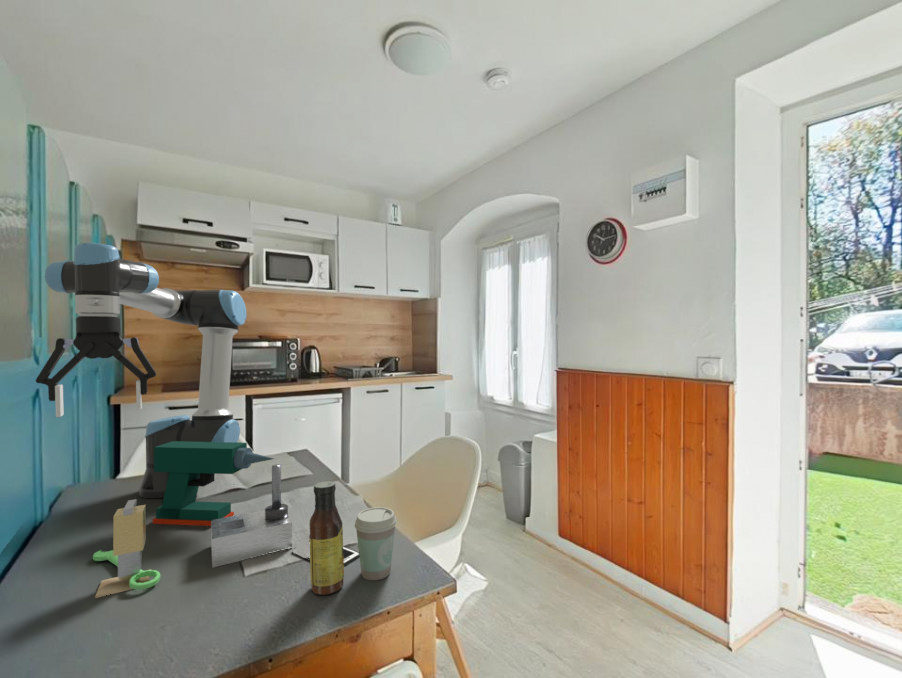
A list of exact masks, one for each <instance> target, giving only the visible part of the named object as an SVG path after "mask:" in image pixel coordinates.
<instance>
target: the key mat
mask: <svg viewBox="0 0 902 678" xmlns="http://www.w3.org/2000/svg"><path fill="white" fill-rule="evenodd" d="M147 570H148V569H147ZM147 570H145V571H147ZM149 570H152V569H151V568H150V569H149ZM131 577H132V576H131V575H128V576H124V577H119V578H118V576H115V577H110V578H107V579H102V580H101V582H100V583H99V585H98V588H97V591H96V593H95V596H94V598H95V599H99V598H102V597H105V596H106V595H107V596H110V594H111V595H114V594H118V593H122V592H126V591H127V592H128V591H131V590H133V589H132V588H130V586H129V581H130V579H131ZM150 578H151V576H146V577H141V578H140V579H138V580H135V582H136V583H144V582H149V581H150Z"/></svg>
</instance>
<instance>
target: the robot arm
mask: <svg viewBox="0 0 902 678" xmlns="http://www.w3.org/2000/svg"><path fill="white" fill-rule="evenodd" d="M44 271H45V272H44V280H45V282H46V284H47V286H48V287H49V288H50V289H51V290H52V291H54V292H56V293H65V294H75V295H74V298H75V299H74V300H75V301H74V302H75V304H74V305H75V306H74V307H75V314H77V315H78V316H76V318H75V333H76V334H75V338H74V339H67V338H64V337H62V338H61V337H60V338H57V339H56V342H55V347H54V350H53V352H52V353H51V355H50V356H49V357H48V360H47V361H46V363H45V364H44V366H43V368H42V369H41V371H40V372H39V374H38V375H37V377H36V378H35V382H36V383H37V384H41V385H46V387H48V400H49V402H55V403H54V404H55V418H60V417H63V416H64V414H65V412H64V411H65V410H64V409H65V408H64V407H65V406H64V385H63V384H59V383H60V382H61V380H63V379H65V377H66V376H67V375H68V374H69V373H70V372H71V371H72V370H73V369H74V368H75V367H76V366H77V365H79V363H80V362H81V361H83V360H84V359H85V358H87V359H91V360H92V359H93V360H94V359H98V358H101V359H109V358H112V357H114V358H115V359H116V360H117V361H119V363H121V364H122V365H123V366H124V367H125V368H127V369H128V370H129V371H130V372H131V373H132V374H134V375H135V376H136V378H138V380H136V381H135V392H136V393H135V394H136V396H135V397H136V398H135V399H136V400H135V401H136V411H141V410H142V408H143V401H142V395H147V393H148V380H149V379H151V378H152V379H153V378H154V377H156V376H157V372H156V370H155V368H154V366H152V364H151V362H150V361H149V359H148V357H147V356H146V354H145V353H144V351H143V350H142V349H141V347H140V343H139V338H138V337H136V336H135V337H130V338H129V337H128V338H123V337H122V333H121V332H122V331H121V318H120V317H119V316H117V315H120V314H121V305H123V306H127V307H131V308H135V309H139V310H142V311H145V312H150V313H151V314H152V315H153V316H155V317H157V318H159V319H164V320H167V321H170V322H171V321H172V322H174V323H179V324H183V325H190V326H198V327H197V330H198V331H199V332H200V333H201V335H202V348H201V358H200V359H201V361H200V373H199V388H198V390H199V392H198V403H197V404H198V405H197V409H196V411H195V412H193V413H192V415H191V417H190V416H189V414H182V415H181V414H180V415H174V416H168V417H163V418H159V419H155V420H152V421H149V422H148V423H147V425H146V427H145V436H144V438H145V464H146V465H145V472H144V474H143V477H142V480H141V482H140V485H139V489H138V491H139V492H138V493H139V495H138V496H139V497H140V498H144V499H162V498H164V494H165V489H166V485H167V481H168V476H169V472H154V447H156V446H159V445H162V444H166V443H169V442H172V441H186V442H237V443H239V439H240V434H241V427H240V422H238V420H236V419H234V413H233V412H232V411H231V410H230V408H229V403H230V402H229V401H230V387H231V386H230V384H231V372H232V371H231V370H232V369H231V368H232V356H233V355H232V353H233V337H234V336H235V335H237V333H238V332H239V326H240V327H241V326H242V325H244V324H245V323H246V320H247V307H246V303H245V300H244V299H243V297H242V296H241V295H240V293H238V292H237V291H235V290H229V289H227V290H225V289H213V290H212V289H208V290H207V289H206V290H205V289H202V290H201V289H200V290H199V289H198V290H196V289H193V290H192V289H189V290H187V289H186V290H184V289H183V290H177V289H172V288H168V287H167V288H166V287H164V288H160V287H158V286H159V283H160V277H159V276H160V275H159V272H158V271H157V270H156V269H155V268H154V267H153V266H152V265H150V264H146V263H144V262H143V261H134V260H128V259H124V258H121V255H120V253H119V249H118V248H117V247H116V246H114V245H109V244H105V243H97V242H96V243H95V242H82V243H81V242H80V243H78V244H76V245H75V247H74V256H73V260H69V259H68V260H62V261H55V262H54V261H53V262H51V263H49V264H48V266H46V268H45V270H44ZM124 344H125V345H126V346H127V347H128V348H132V351H133V353H134V354H135V356H136V357H137V359H138V360H139V362H140V363H141V365H142V366H143V368H144V369H145V371H146V373H145V372H143V371H142V370H141V369H140V368H139V367H138V366H137V365H135V364H134V363H133V362H132V361H130V359H129V358H128V357H127V356H125V354H123V353H122V352H121V351H120V350H119V349H121V347H122V346H124ZM72 345H73V346H74V347H75V348H76V349H77V350H78V352H77V353H76V354H75V355H74V356H73V357H72V358H71V359H70V361H68V362H67V363H66V364H65V365H64V366H63V367H62V368H60V370H58V371H57V373H55V374H54V376H52V377H51V378H50V376H51V374H52V373H53V371H54V369H55V367H56V366H57V364H59V363H58V362H59V361H60V359H62V358H61V357H62V356H64V355H63V354H64V353H65V350H68V349H69V348H70V347H71V346H72Z"/></svg>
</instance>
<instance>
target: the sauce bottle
mask: <svg viewBox="0 0 902 678" xmlns="http://www.w3.org/2000/svg"><path fill="white" fill-rule="evenodd" d="M336 490H337V489H336V483H335V482H334V481H330V480H329V481H320V482H317V483H316V484H314V485H313V493H314V511H313V513H312V515H311V517H310V519H309V535H308V536H309V537H308V538H309V540H308V541H309V544H310V561H309V569H310V570H309V571H310V573H309V574H310V575H309V576H310V584H311V590H312V592H313V593H314V594H316V595H320V596H327V595H331V594H334V593H336V592H339V590H341V589H342V587H343V586H344V578H345V566H344V557H343V546H344V536H343V535H344V533H343V528H344V527H343V522H342V519H341V516H340V513H339V509H338V508H337V505H336Z"/></svg>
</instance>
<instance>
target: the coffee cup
mask: <svg viewBox="0 0 902 678" xmlns="http://www.w3.org/2000/svg"><path fill="white" fill-rule="evenodd" d="M397 524H398V520H397V517H396V515H395V512H394V510H392V509H390V508H388V507H381V506H380V507H379V506H377V507H375V506H374V507H369V508H366V509H363V510H361V511H359V513H357V516H356V519H355V521H354V528H355V530H356V538H357V546H358V547H357V548H358V552H359V556H360V557H359V562H360V563H359V564H360V571H361V576H362V577H363V579H365V580H367V581H380V580H383V579H385V578H387V577H389V575H391V574H390V573H391V571H392V560H393V551H394V542H395V530H396V526H397Z"/></svg>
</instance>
